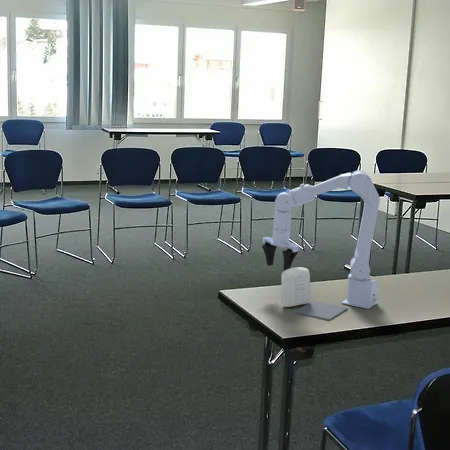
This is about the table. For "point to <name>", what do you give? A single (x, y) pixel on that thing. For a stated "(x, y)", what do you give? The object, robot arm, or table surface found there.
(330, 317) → the slate mat
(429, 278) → the table surface
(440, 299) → the table surface
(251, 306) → the table surface
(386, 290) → the table surface
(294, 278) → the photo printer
